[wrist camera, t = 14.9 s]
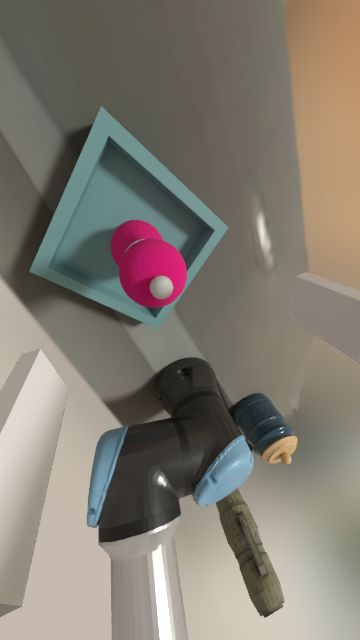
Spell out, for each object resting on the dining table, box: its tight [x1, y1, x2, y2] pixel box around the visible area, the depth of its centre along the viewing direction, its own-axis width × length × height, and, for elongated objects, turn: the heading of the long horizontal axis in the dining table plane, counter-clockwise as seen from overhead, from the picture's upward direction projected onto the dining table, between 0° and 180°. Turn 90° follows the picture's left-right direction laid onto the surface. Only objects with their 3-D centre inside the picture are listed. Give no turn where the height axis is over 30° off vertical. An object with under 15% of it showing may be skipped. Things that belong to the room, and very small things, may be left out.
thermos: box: [216, 487, 284, 617], centre depth 58 cm, size 9×12×35 cm
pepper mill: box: [110, 220, 187, 308], centre depth 23 cm, size 7×7×20 cm
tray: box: [29, 107, 229, 329], centre depth 30 cm, size 20×20×4 cm
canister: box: [234, 394, 298, 464], centre depth 59 cm, size 13×13×18 cm
